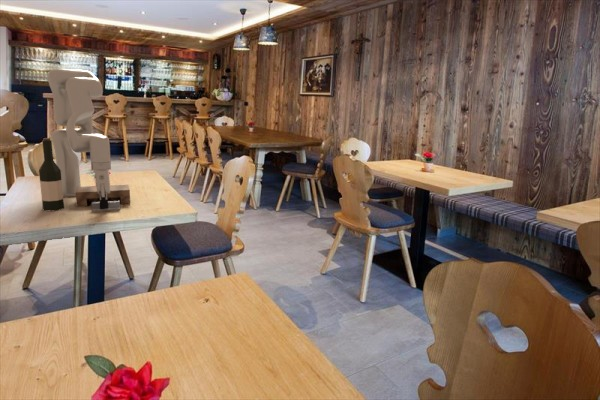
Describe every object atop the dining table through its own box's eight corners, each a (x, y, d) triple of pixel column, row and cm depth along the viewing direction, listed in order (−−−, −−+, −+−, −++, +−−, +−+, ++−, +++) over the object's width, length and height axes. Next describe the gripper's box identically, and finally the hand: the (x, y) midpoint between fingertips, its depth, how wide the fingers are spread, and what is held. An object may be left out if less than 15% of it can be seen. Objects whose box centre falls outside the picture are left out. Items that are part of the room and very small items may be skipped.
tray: (92, 212, 187) (91, 203, 186) (93, 203, 201) (92, 195, 200) (120, 210, 191) (119, 201, 190) (119, 202, 206) (118, 193, 205)
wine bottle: (49, 211, 184) (41, 140, 177) (38, 208, 188) (30, 138, 181) (68, 208, 191) (62, 138, 184) (57, 204, 195) (51, 137, 188)
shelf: (76, 206, 193) (75, 192, 191) (78, 200, 204) (77, 186, 202) (130, 203, 202) (129, 189, 200) (128, 197, 212) (128, 184, 211)
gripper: (111, 168, 177) (114, 212, 182) (110, 162, 191) (113, 203, 195) (90, 169, 174) (94, 213, 179) (91, 163, 188) (94, 205, 192)
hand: (104, 208), depth 187 cm, fingers closed
